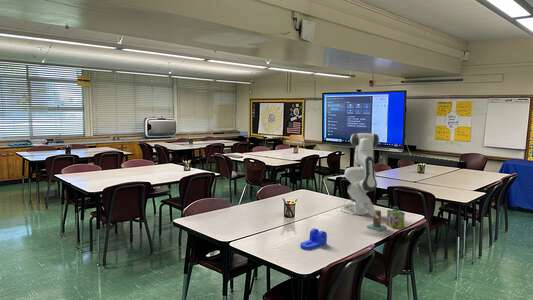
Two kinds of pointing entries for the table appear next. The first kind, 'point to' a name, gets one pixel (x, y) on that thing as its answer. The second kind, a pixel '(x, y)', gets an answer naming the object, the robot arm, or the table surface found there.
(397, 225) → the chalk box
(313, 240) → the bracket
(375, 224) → the walnut block
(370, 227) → the teal pad
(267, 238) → the table surface
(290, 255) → the table surface
